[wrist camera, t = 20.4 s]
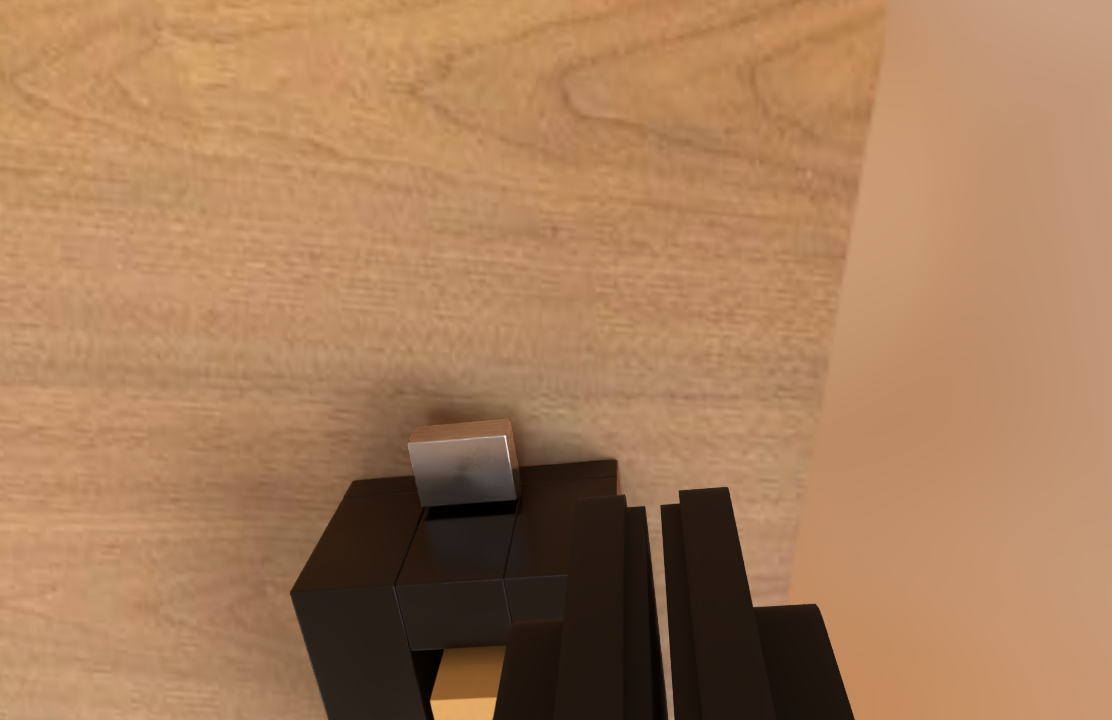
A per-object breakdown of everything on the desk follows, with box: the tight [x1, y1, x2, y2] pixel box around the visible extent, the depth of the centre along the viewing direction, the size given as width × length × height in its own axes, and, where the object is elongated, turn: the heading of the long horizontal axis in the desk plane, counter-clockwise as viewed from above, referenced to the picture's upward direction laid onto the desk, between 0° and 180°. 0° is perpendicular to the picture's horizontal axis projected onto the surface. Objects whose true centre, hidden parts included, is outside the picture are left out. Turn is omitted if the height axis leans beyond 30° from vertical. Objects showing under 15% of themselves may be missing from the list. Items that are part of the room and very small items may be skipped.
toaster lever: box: [407, 419, 521, 507], centre depth 35 cm, size 4×3×2 cm
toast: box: [430, 646, 506, 720], centre depth 36 cm, size 2×8×8 cm, turn 8°
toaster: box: [290, 460, 622, 720], centre depth 37 cm, size 12×16×8 cm
